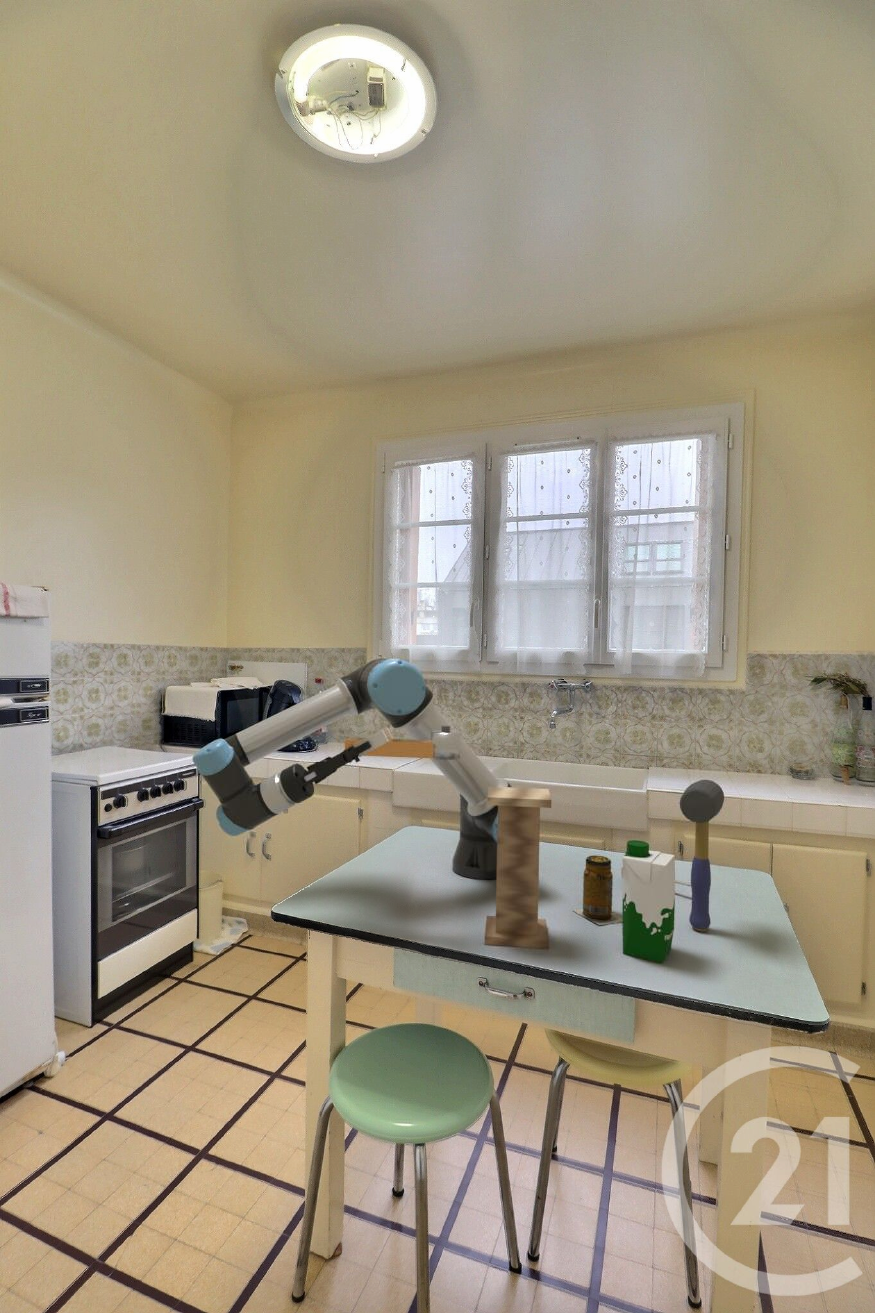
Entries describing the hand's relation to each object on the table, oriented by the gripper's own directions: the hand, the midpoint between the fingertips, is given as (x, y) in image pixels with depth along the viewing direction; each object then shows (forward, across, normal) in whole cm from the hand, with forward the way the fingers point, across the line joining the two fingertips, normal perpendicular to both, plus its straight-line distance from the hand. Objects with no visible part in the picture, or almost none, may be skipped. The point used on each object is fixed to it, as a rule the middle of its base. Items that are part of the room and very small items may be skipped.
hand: (387, 734), depth 131 cm
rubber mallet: (+36, -9, -65) cm, 75 cm away
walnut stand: (+4, 0, -47) cm, 47 cm away
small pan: (+33, -31, -64) cm, 78 cm away
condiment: (+19, -13, -56) cm, 60 cm away
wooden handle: (0, 0, -5) cm, 5 cm away
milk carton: (+25, +3, -59) cm, 64 cm away
